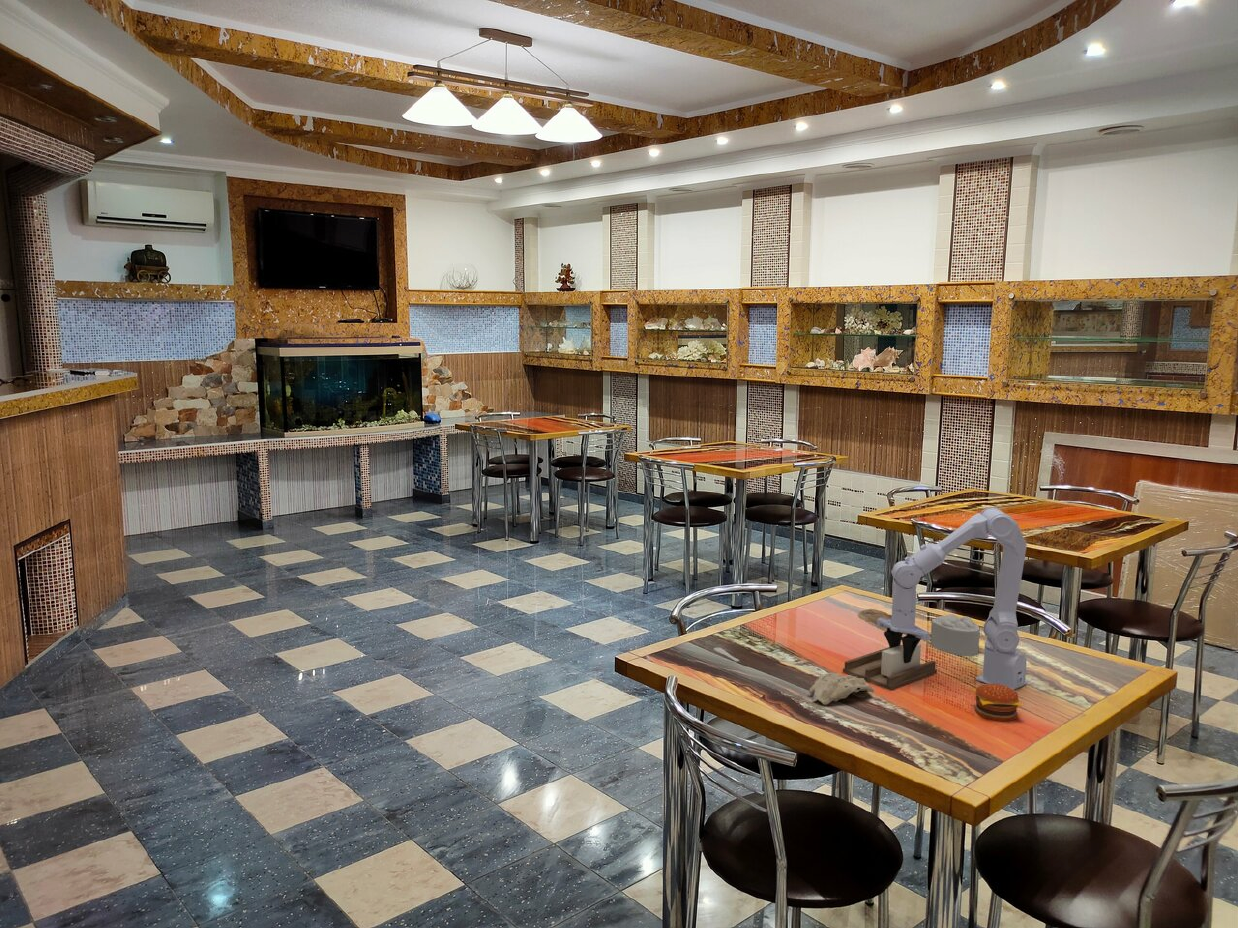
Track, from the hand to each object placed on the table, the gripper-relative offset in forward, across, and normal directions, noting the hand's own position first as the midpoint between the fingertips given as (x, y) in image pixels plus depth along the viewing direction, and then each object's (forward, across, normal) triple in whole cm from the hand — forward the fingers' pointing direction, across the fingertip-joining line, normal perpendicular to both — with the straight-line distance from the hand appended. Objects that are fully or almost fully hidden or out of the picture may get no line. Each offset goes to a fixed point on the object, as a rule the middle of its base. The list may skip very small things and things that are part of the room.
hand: (901, 660), depth 228 cm
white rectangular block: (+3, 0, 0) cm, 3 cm away
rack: (+4, -3, 0) cm, 6 cm away
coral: (+5, -2, -22) cm, 22 cm away
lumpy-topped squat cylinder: (+5, -4, +30) cm, 31 cm away
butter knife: (+5, -32, -26) cm, 41 cm away
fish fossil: (+5, -28, +32) cm, 43 cm away
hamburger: (+5, +27, -1) cm, 27 cm away
